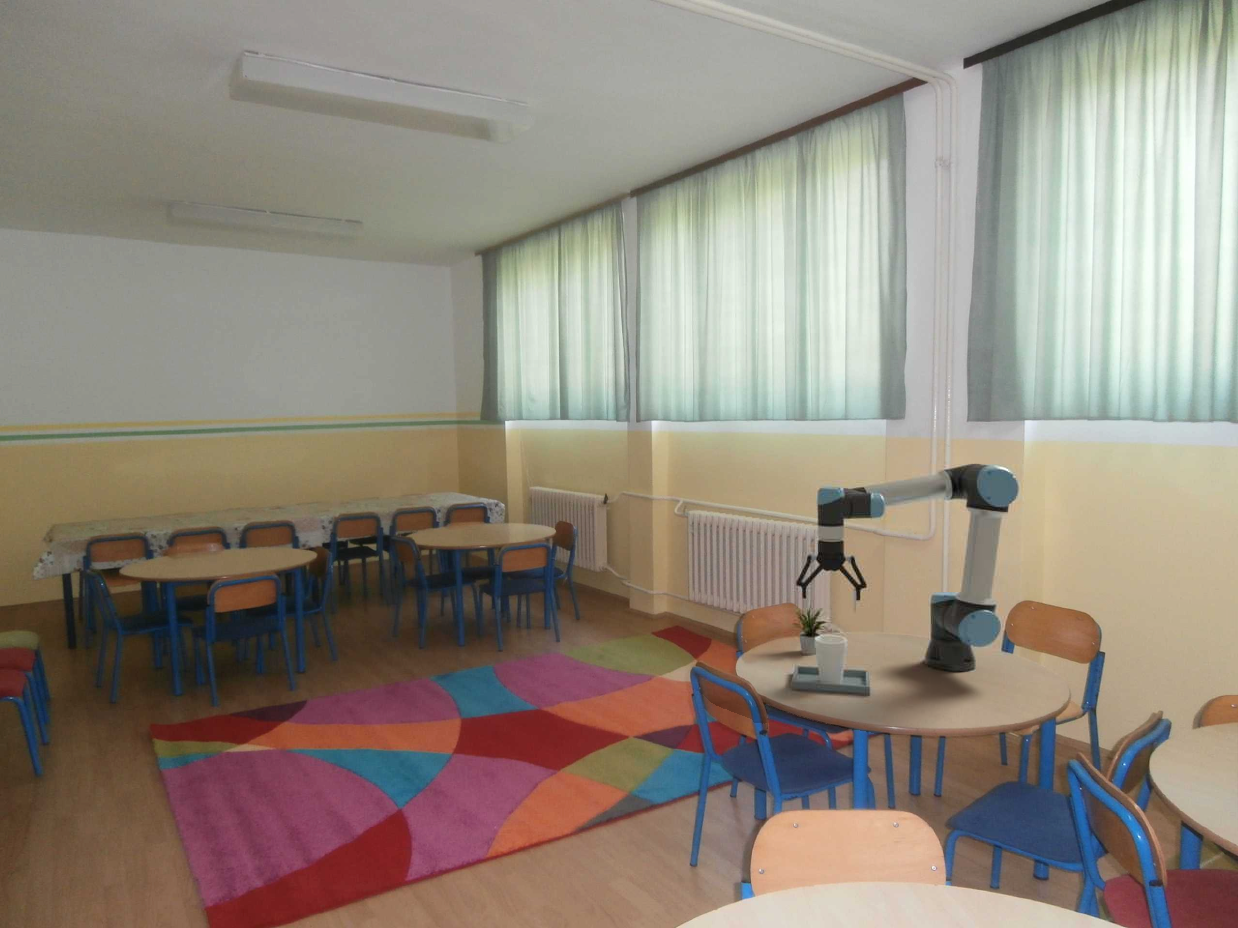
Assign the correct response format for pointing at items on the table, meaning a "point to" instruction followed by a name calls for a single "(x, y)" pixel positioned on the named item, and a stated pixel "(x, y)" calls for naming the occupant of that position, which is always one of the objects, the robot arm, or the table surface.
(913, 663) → the table surface
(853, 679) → the tray
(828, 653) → the foam cup
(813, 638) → the house plant
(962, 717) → the table surface
